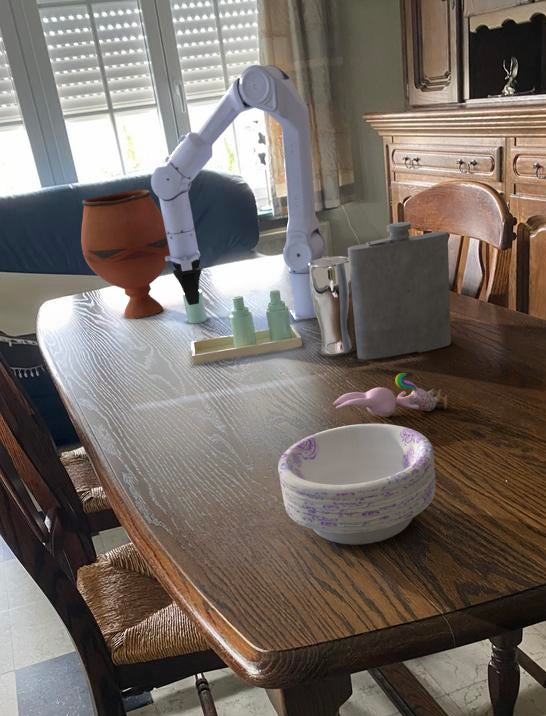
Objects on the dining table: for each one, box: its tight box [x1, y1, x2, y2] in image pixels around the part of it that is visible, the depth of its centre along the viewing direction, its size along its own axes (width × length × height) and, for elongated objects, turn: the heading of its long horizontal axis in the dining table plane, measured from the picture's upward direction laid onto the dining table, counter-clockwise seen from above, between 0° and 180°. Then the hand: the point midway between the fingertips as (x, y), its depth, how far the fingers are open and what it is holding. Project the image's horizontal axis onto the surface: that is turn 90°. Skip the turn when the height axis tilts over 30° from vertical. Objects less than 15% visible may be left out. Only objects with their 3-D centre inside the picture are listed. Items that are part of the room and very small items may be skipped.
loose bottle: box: [182, 289, 208, 324], centre depth 155 cm, size 4×4×9 cm
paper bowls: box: [277, 423, 436, 546], centre depth 74 cm, size 15×15×8 cm
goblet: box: [80, 189, 170, 319], centre depth 163 cm, size 19×19×25 cm
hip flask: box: [347, 221, 452, 361], centre depth 117 cm, size 16×4×20 cm, turn 103°
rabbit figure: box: [333, 372, 448, 418], centre depth 98 cm, size 6×6×15 cm
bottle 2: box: [265, 289, 292, 342], centre depth 132 cm, size 4×4×9 cm
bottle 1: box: [229, 295, 257, 348], centre depth 132 cm, size 4×4×9 cm
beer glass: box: [309, 255, 357, 357], centre depth 123 cm, size 7×7×15 cm
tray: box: [190, 324, 303, 365], centre depth 134 cm, size 19×9×2 cm, turn 99°
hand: (193, 299), depth 155 cm, fingers open, 7 cm apart
